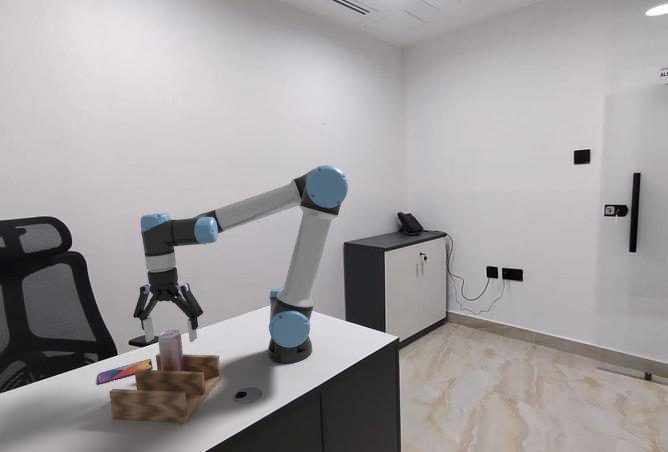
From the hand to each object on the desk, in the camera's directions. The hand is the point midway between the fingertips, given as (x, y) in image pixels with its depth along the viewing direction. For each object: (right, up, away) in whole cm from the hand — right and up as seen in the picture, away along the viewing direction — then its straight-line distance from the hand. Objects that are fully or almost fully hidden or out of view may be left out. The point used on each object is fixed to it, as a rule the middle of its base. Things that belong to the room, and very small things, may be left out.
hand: (171, 340), depth 100 cm
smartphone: (-20, -15, +11) cm, 27 cm away
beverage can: (0, -13, +2) cm, 13 cm away
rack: (+1, -15, -3) cm, 15 cm away
